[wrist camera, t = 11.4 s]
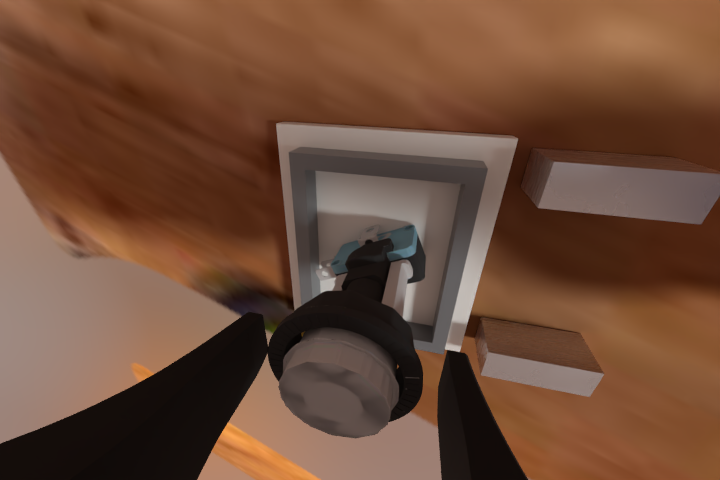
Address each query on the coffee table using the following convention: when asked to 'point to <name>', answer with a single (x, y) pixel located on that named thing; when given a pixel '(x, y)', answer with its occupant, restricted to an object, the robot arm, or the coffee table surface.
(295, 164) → the port dock
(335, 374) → the push button
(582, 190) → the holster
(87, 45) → the coffee table surface
